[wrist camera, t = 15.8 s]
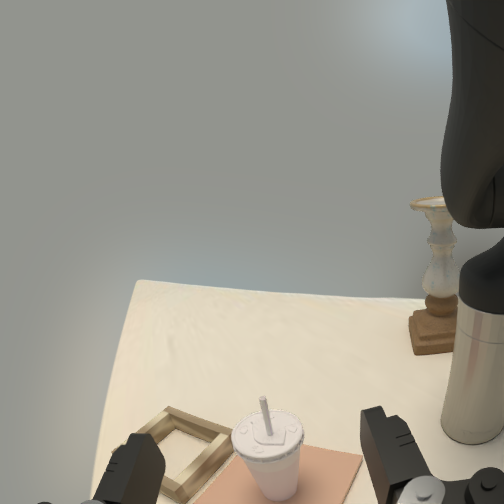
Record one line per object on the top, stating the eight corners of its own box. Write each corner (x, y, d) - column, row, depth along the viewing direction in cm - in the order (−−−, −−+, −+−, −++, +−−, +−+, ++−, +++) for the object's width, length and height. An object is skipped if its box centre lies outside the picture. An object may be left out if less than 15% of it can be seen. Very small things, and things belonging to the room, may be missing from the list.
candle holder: (474, 348, 42) (481, 202, 37) (414, 356, 46) (412, 208, 41) (459, 319, 52) (460, 193, 47) (407, 324, 56) (403, 198, 51)
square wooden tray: (174, 420, 42) (168, 405, 41) (238, 445, 36) (234, 429, 35) (120, 466, 33) (111, 451, 32) (183, 505, 27) (174, 491, 26)
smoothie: (272, 521, 23) (246, 434, 20) (238, 486, 28) (205, 394, 25) (322, 487, 26) (316, 392, 23) (285, 458, 31) (267, 363, 28)
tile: (256, 436, 37) (255, 432, 37) (362, 459, 29) (362, 455, 29) (190, 511, 26) (188, 508, 25) (311, 559, 18) (311, 557, 18)
